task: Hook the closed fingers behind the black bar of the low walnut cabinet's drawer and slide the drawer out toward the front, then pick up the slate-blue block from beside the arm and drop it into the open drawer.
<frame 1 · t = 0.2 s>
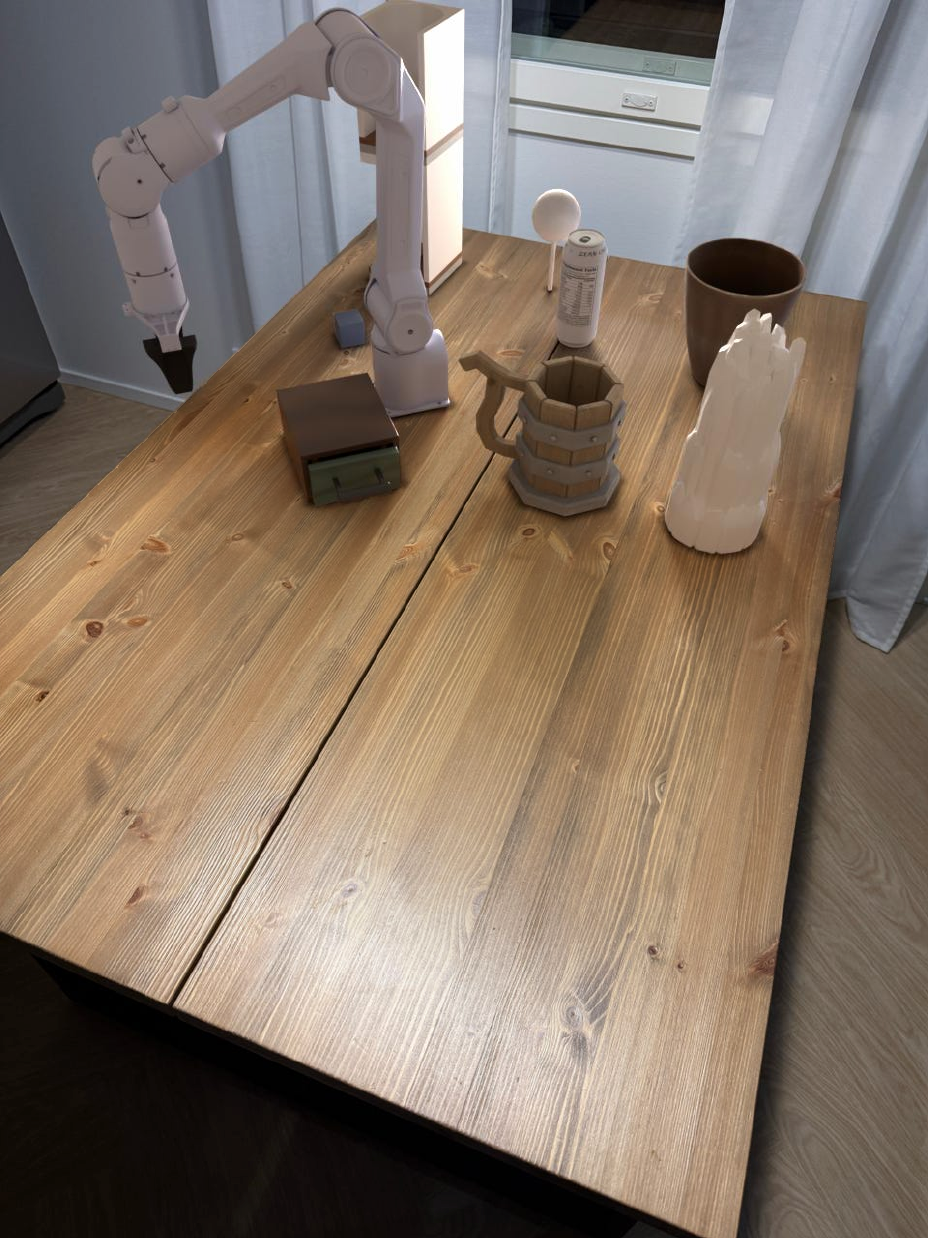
hand: (179, 373, 105), 10 cm above the table, tool pointing down, fingers open, 7 cm apart
cream upright sculpted piece: (710, 522, 104), on the table
lollipop: (549, 290, 139), on the table
cabinet: (341, 459, 111), on the table
energy drink can: (574, 339, 130), on the table
block: (350, 339, 129), on the table
flower pot: (717, 376, 124), on the table
drawer: (347, 457, 106), point 4 cm above the table, slide at 0.5 cm
display case: (416, 272, 142), on the table
tankard: (535, 472, 110), on the table
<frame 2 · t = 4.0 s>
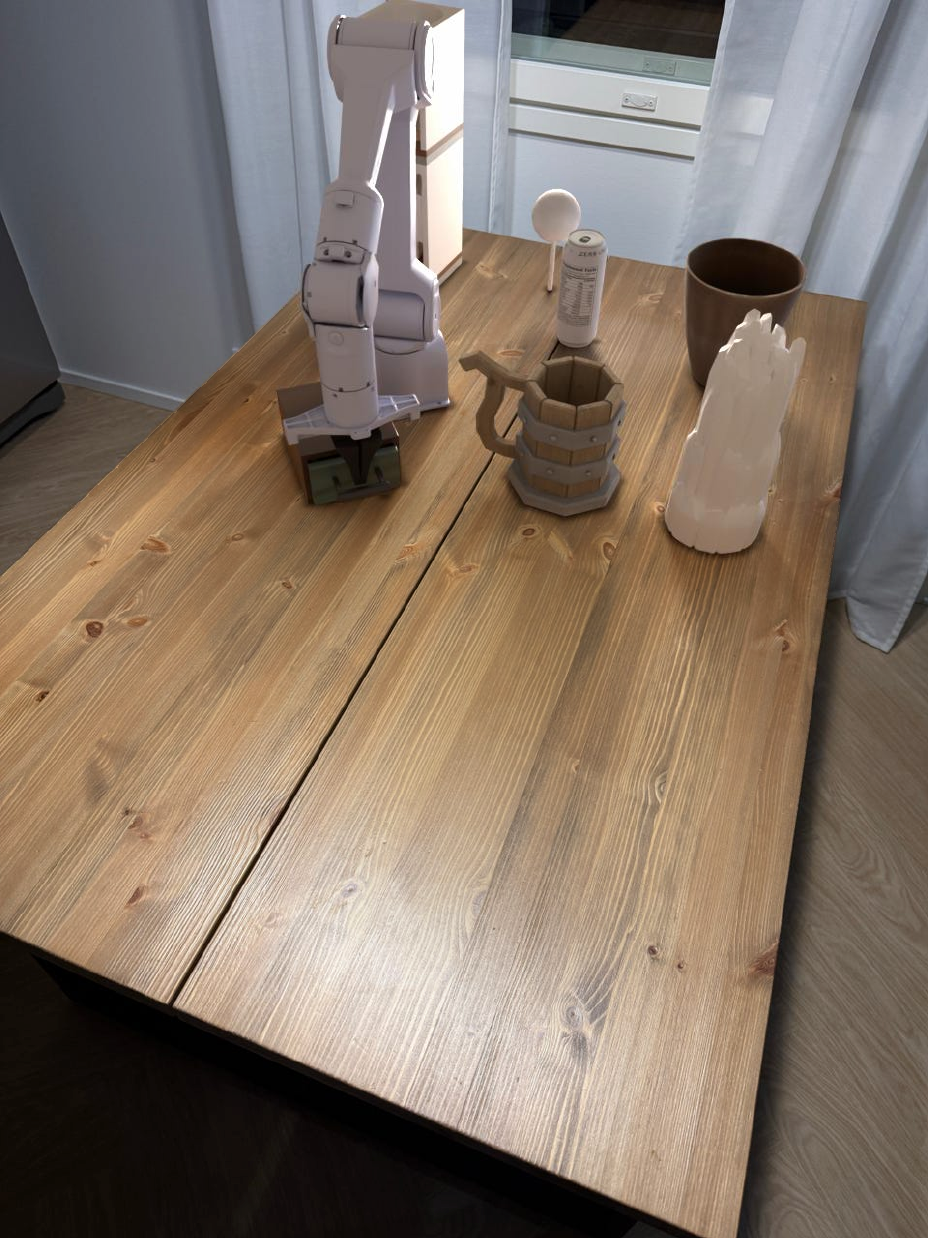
hand: (358, 479, 101), 5 cm above the table, tool pointing down, fingers closed
nothing on the table moved.
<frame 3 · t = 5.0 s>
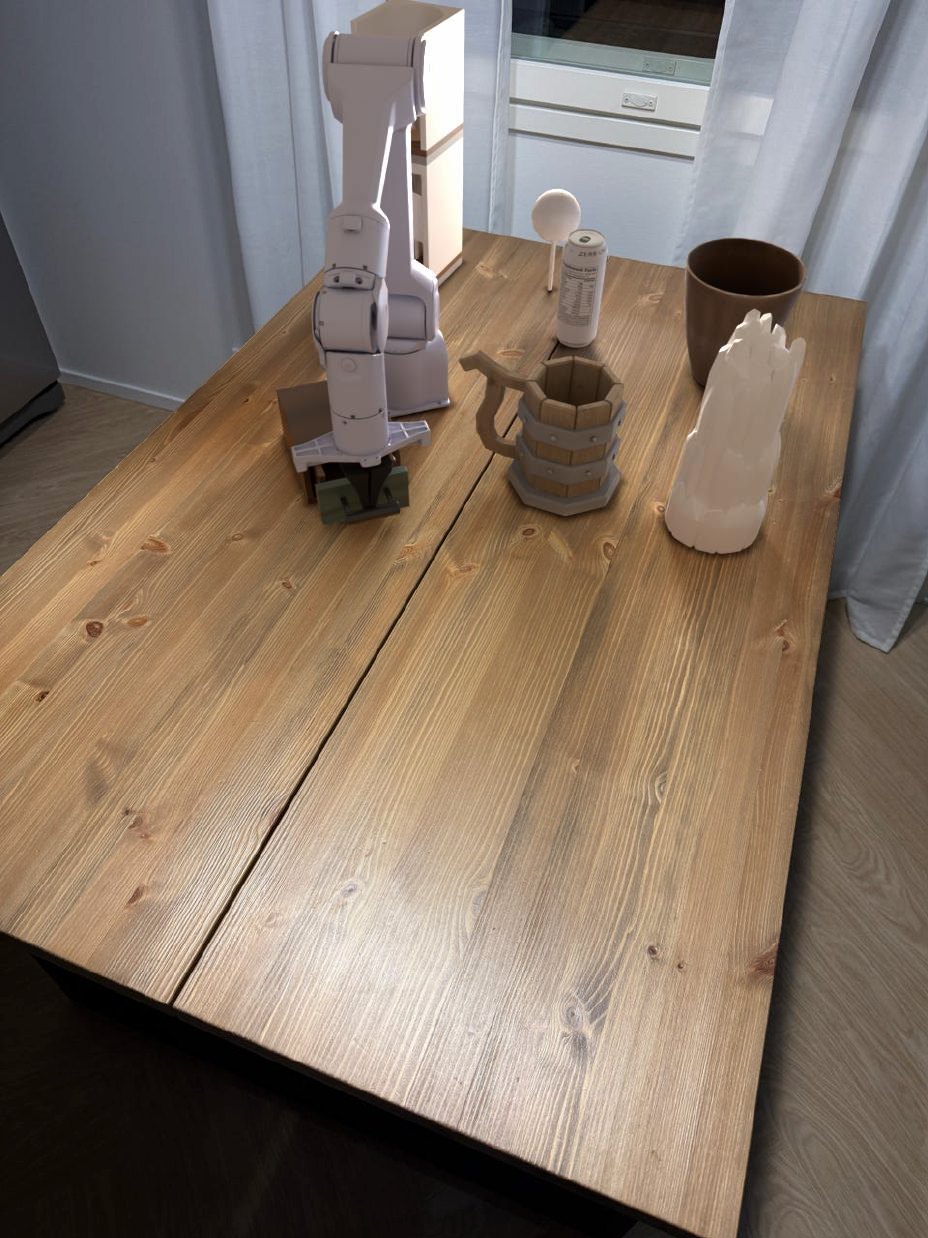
hand: (367, 506, 100), 4 cm above the table, tool pointing down, fingers closed, pressing on drawer
drawer: (355, 476, 103), point 4 cm above the table, slide at 4.1 cm, touching gripper
everything else where it was.
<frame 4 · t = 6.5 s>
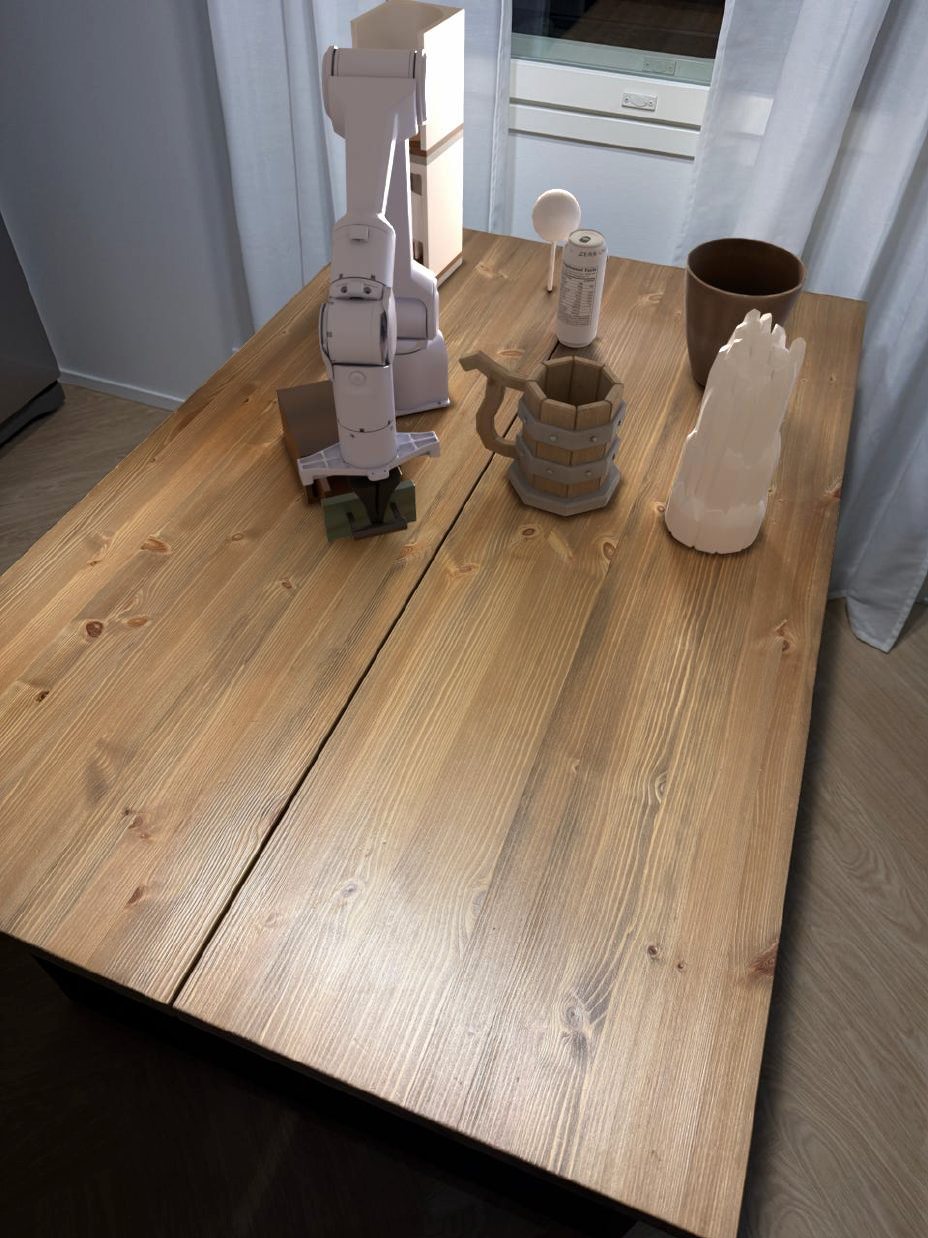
hand: (375, 517, 97), 5 cm above the table, tool pointing down, fingers closed
drawer: (361, 490, 102), point 4 cm above the table, slide at 6.7 cm
everything else where it was.
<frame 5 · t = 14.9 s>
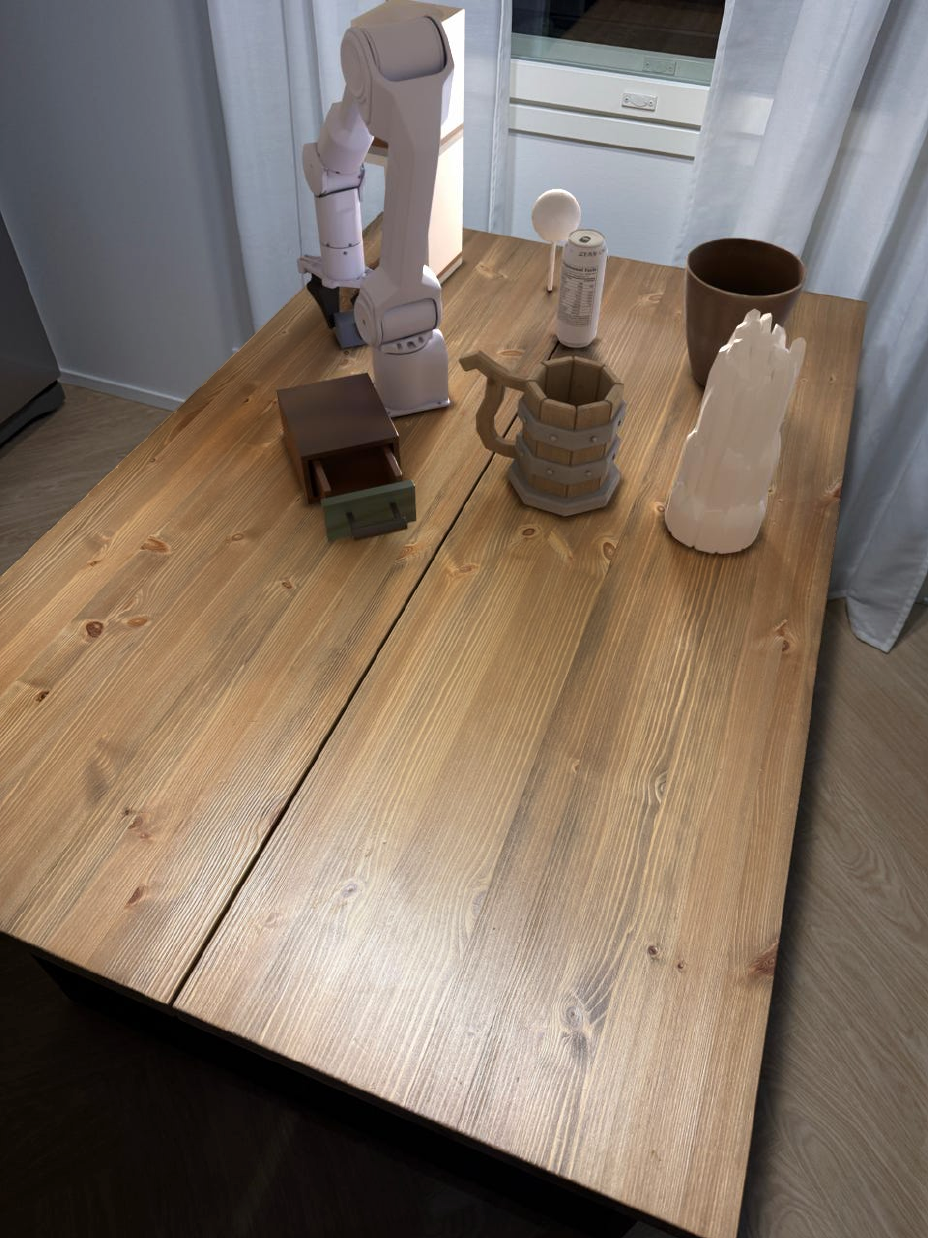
hand: (349, 330, 128), 1 cm above the table, tool pointing down, fingers closed on block, 5 cm apart
block: (350, 339, 129), on the table, touching gripper
everything else where it was.
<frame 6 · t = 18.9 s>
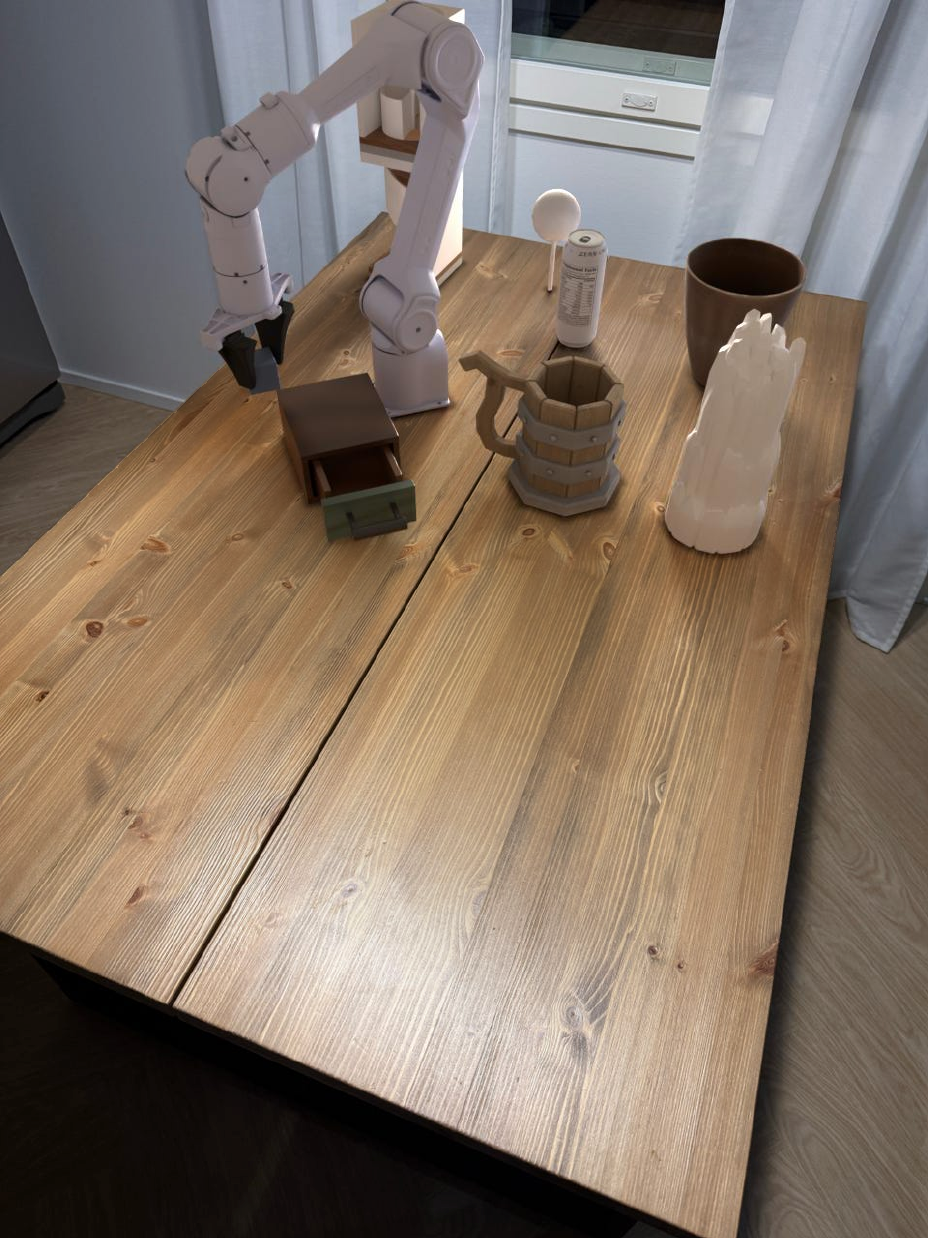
hand: (260, 374, 105), 10 cm above the table, tool pointing down, fingers closed on block, 5 cm apart
block: (262, 383, 106), point 9 cm above the table, touching gripper
everything else where it was.
when the fingers open (6 cm above the table, at t = 22.9 s): block drops 3 cm, resting on drawer.
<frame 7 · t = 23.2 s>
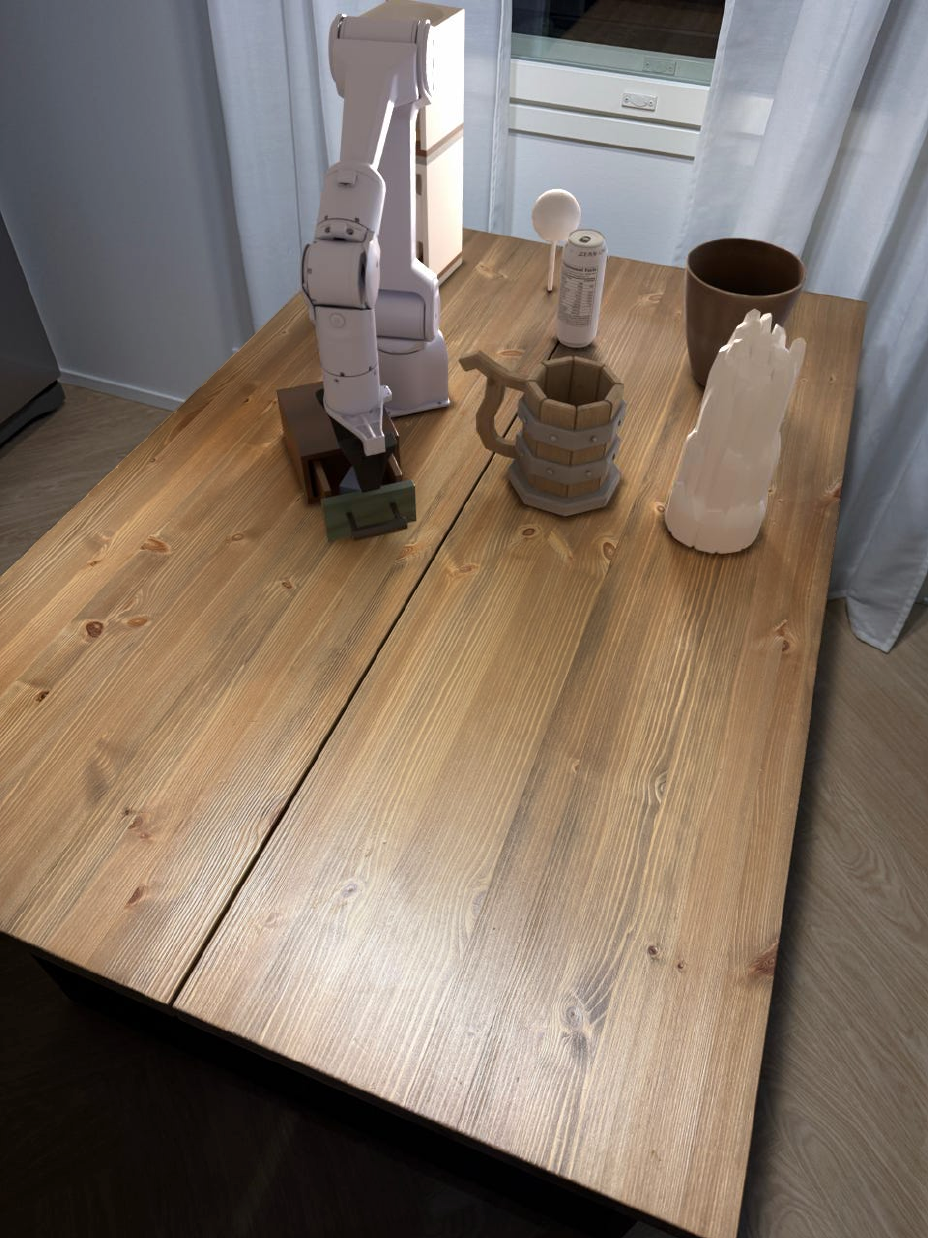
hand: (360, 467, 99), 7 cm above the table, tool pointing down, fingers open, 7 cm apart
block: (362, 502, 103), point 2 cm above the table, touching drawer
drawer: (361, 490, 102), point 4 cm above the table, slide at 6.7 cm, touching block
everything else where it was.
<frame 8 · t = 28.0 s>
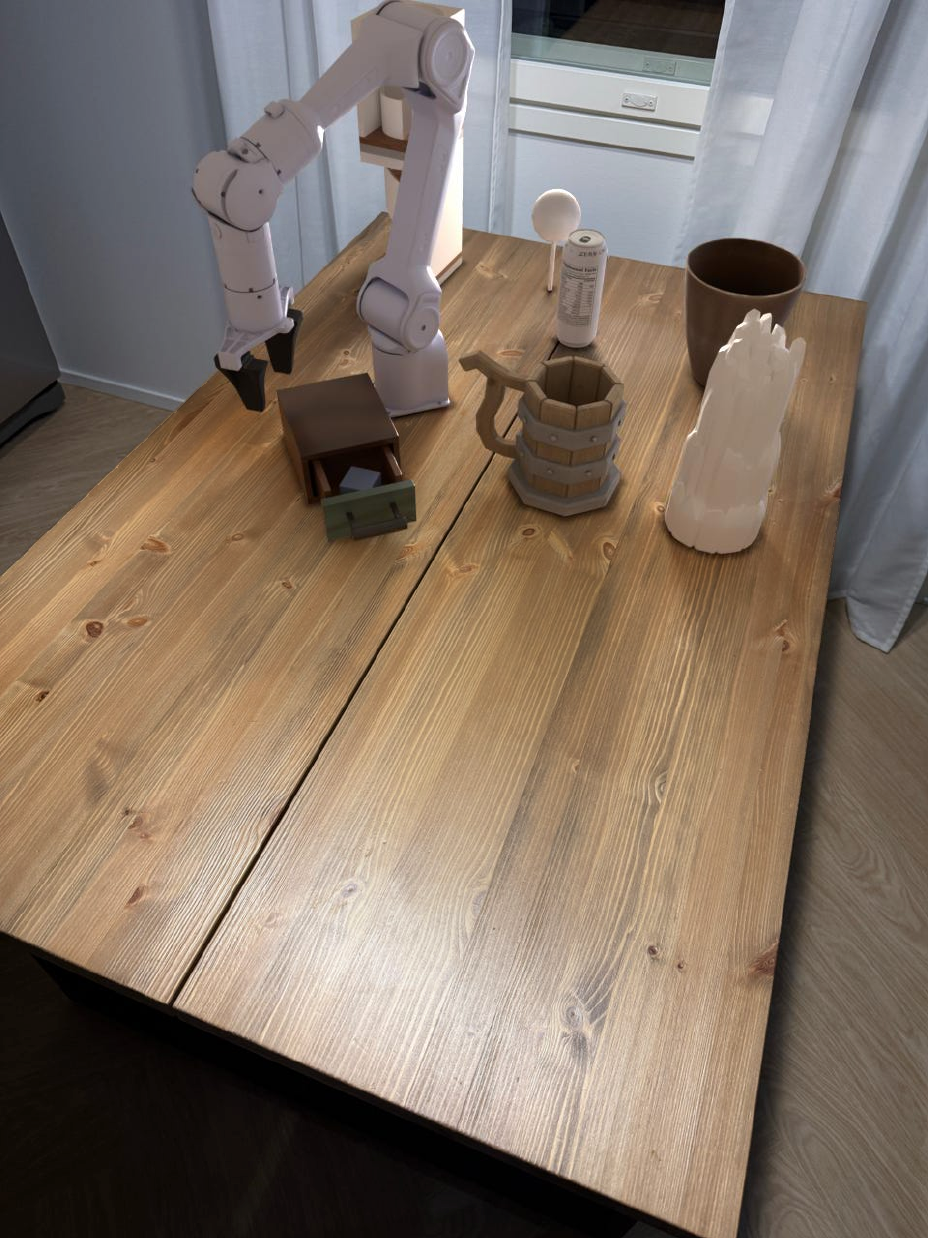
hand: (269, 390, 103), 10 cm above the table, tool pointing down, fingers open, 7 cm apart
nothing on the table moved.
at the end: drawer slide at 6.7 cm; block inside the target area in the drawer (0.9 cm from its centre), point 2.0 cm above the cabinet's base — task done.
